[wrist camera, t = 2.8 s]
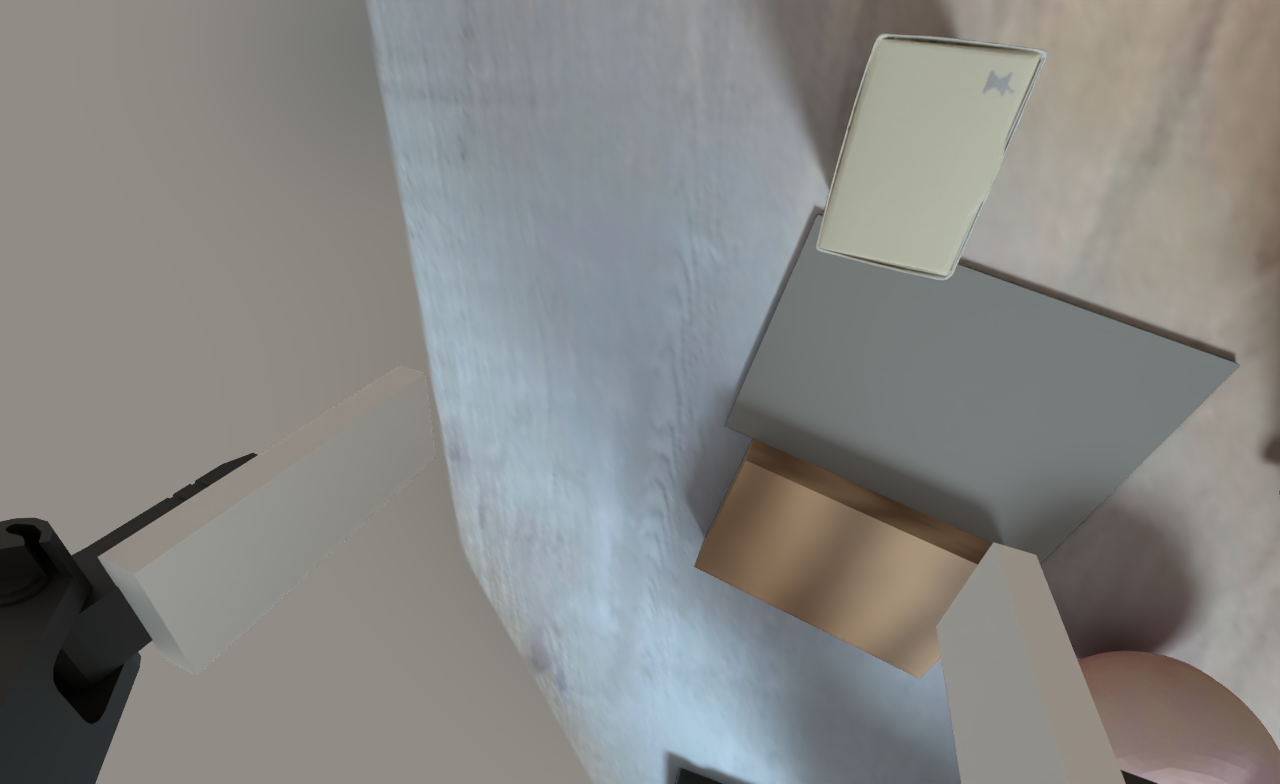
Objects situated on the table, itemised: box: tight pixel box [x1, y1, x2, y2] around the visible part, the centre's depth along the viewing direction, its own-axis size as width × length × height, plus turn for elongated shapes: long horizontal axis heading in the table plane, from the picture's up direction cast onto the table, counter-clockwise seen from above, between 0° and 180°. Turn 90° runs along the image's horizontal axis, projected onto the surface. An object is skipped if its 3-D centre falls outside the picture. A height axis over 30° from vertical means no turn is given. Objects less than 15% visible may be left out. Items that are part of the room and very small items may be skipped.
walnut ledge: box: [694, 438, 992, 679], centre depth 35 cm, size 16×10×3 cm, turn 74°
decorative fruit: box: [1078, 651, 1280, 784], centre depth 28 cm, size 9×8×10 cm
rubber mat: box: [725, 214, 1240, 564], centre depth 30 cm, size 20×14×1 cm
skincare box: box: [816, 33, 1047, 280], centre depth 20 cm, size 6×4×12 cm
